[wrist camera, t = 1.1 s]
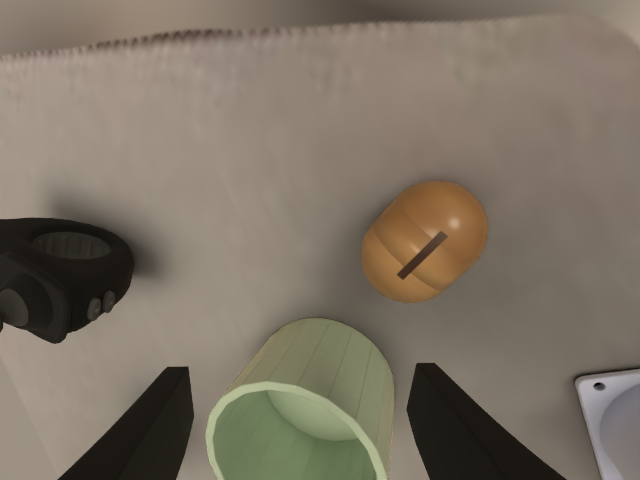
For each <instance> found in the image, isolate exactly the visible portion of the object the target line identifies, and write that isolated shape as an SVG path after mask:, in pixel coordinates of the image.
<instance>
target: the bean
mask: <svg viewBox="0 0 640 480" xmlns="http://www.w3.org/2000/svg"><path fill="white" fill-rule="evenodd" d="M487 238H488V222H487V217H486V214H485V211H484V209H483V207H482V205H481V204H480V202H479V201H478V199H477V198H476V197H475V196H474V195H473V194H472V193H471V192H469V191H468V190H466V189H465V188H463V187H461V186H459V185H457V184H454V183H451V182H446V181H427V182H421V183H419V184H416V185H413V186H411V187H409V188H408V189H406V190H405V191H403V192H402V193H401V194H400V195H399V196H397V197H396V198H395V199H394V201H393V202H392V203H391V204H390V205H389V206H388V207H387V208H386V209H385V210H384V212H383V213H382V214H381V215H380V216H379V217H378V218H377V219H376V220H375V222H374V223H373V224H372V225H371V226H370V228H369V229H368V231H367V232H366V234H365V237H364V239H363V243H362V247H361V263H362V268H363V271H364V273H365V275H366V277H367V279H368V281H369V282H370V284H371V285H372V286H373V287H374V288H375V289H376V290H377V291H378V292H379V293H381V294H382V295H384V296H386V297H388V298H390V299H392V300H394V301H399V302H403V303H418V302H423V301H427V300H429V299H432V298H434V297H436V296H437V295H439V294H440V293H441V292H443V291H444V290H445V289H446V288H447V287H449V286H450V285H451V284H452V283H453V282H454V281H455V280H456V279H458V278H459V277H460V276H461V275H462V274H463V273H464V272H465V271H467V270H468V269H469V268H470V267H471V266H472V265H473V264H474V263H475V262H476V261H477V260H478V258H479V257H480V255H481V253H482V252H483V250H484V248H485V245H486V242H487Z"/></svg>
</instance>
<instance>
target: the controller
mask: <svg viewBox="0 0 640 480" xmlns="http://www.w3.org/2000/svg"><path fill="white" fill-rule="evenodd" d="M133 269H134V259H133V255H132V252H131V250H130V248H129V247H128V245H127V244H126V243H125V242H124V241H123V240H122V239H121V238H119V237H118V236H116V235H115V234H113V233H111V232H109V231H107V230H105V229H102V228H100V227H96V226H93V225H90V224H85V223H81V222H76V221H71V220H64V219H54V218H20V219H0V332H1V331H2V329H3V322H4V323H6V324H9V325H12V326H14V327H16V328H19V329H23V330H27V331H29V332H31V333H33V334H34V335H36V336H38V337H40V338H41V339H43V340H46V341H48V342H51V343H54V344H56V343H60V342H62V341H63V340H64V339H65V338H66V335H67V333H70V332H72V331H77V330H79V329H81V328H83V327H85V326H86V325H87V324H89V323H90V322H92V321H94V320H96V319H97V318H98V317H99V316H100V315H101V314H103V313H104V312H106V313H109V312H110V311H111V310H112V308H113V306H114V305H115V304H116V303H117V302H118V301H119V300H121V299H122V297H123V296H124V295H125V294H126V292H127V290H128V288H129V286H130V283H131V279H132V274H133Z"/></svg>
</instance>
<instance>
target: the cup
mask: <svg viewBox="0 0 640 480" xmlns="http://www.w3.org/2000/svg"><path fill="white" fill-rule="evenodd" d="M394 399H395V386H394V379H393V376H392V372H391V370H390V367H389V365H388V363H387V361H386V359H385V358H384V356H383V355H382V353H381V352H380V351H379V349H378V348H377V347H376V346H375V345H374V344H373V343H372V342H371V341H370V340H369V339H368V338H367V337H365V336H364V335H363V334H362V333H360V332H359V331H357V330H355V329H354V328H352V327H350V326H348V325H346V324H343V323H340V322H337V321H334V320H329V319H323V318H306V319H300V320H297V321H293V322H291V323H289V324H286V325H284V326H283V327H282V328H280V329H279V330H277V331H276V332H275V333H274V334H273V335H272V336H271V337H270V338H269V339H268V340H267V342H266V343H265V344H264V345H263V347H262V348H261V349H260V350H259V351H258V353H257V354H256V355H255V356H254V358H253V359H252V360H251V361H250V363H249V364H248V365H247V366H246V367H245V369H244V370H243V371H242V372H241V374H240V375H239V376H238V377H237V378H236V380H235V381H234V382H233V383H232V385H231V386H230V387H229V388H228V389H227V391H226V392H225V393H224V394H223V396H222V397H221V398H220V400H219V401H218V402H217V404H216V405H215V407H214V408H213V410H212V411H211V413H210V415H209V418H208V423H207V429H206V434H205V441H206V447H207V453H208V459H209V462H210V464H211V466H212V468H213V471H214V473H215V475H216V477H217V479H218V480H389V471H390V458H391V445H392V432H393V420H394Z"/></svg>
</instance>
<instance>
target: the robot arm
mask: <svg viewBox="0 0 640 480" xmlns="http://www.w3.org/2000/svg"><path fill="white" fill-rule="evenodd" d="M598 382H601V384H600V385H598V386H594V384H595V383H598ZM575 386H576V390H577V393H578V397H579V400H580V404H581V407H582V411H583V415H584V418H585V422H586V425H587V429H588V432H589V436H590V439H591V443H592V447H593V450H594V454H595V457H596V461H597V464H598V468H599V471H600V475H601V479H602V480H640V369H635V370H627V371H619V372H611V373H603V374H595V375H587V376H581V377H579V378H578V379H576V381H575ZM407 413H408V417H409V421H410V424H411V428H412V432H413V435H414V439H415V442H416V445H417V448H418V450H419V453H420V455H421V458H422V460H423V463H424V465H425V468H426V471H427V473H428V476H429V478H430V480H567V479H565V478H564V477H563V476H561V475H560V474H559V473H558V472H556V471H555V470H554V469H552V468H551V467H550V466H548V465H547V464H546V463H545V462H543V461H542V460H541V459H540V458H538V457H537V456H536V455H535V454H533V453H532V452H531V451H530V450H529V449H527V448H526V447H525V446H524V445H523V444H522V443H520V442H519V441H518V440H517V439H516V438H515V437H513V436H512V435H511V434H510V433H509V432H508V431H506V430H505V429H504V428H503V427H502V426H501V425H500V424H499V423H497V422H496V421H495V420H494V419H493V418H492V417H491V416H490V415H489V414H488V413H486V412H485V411H484V410H483V409H482V408H481V407H480V406H479V405H478V404H477V403H476V402H475V401H474V400H473V399H472V398H471V397H469V396H468V395H467V394H466V393H465V392H464V391H463V390H462V389H461V388H460V387H459V386H458V385H457V384H456V383H455V382H454V381H453V380H452V379H451V378H450V377H449V376H448V375H447V374H446V373H445V372H444V371H443V370H442V369H441V368H439V367H438V366H437V365H436V364H435V363H417V364H416V368H415V373H414V377H413V382H412V386H411V391H410V396H409V400H408V405H407ZM193 418H194V411H193V402H192V394H191V385H190V377H189V369H188V367H167V368H166V369H165V370H164V371H163V372H162V373H161V374H160V375H159V376H158V377H157V378H156V379H155V381H154V382H153V383H152V384H151V385H150V386H149V387H148V388H147V390H146V391H145V392H144V393H143V394H142V395H141V396H140V397H139V398H138V399H137V401H136V402H135V403H134V404H133V405H132V406H131V407H130V408H129V409H128V410H127V411H126V412H125V413H124V414H123V415H122V417H121V418H120V419H119V420H118V421H117V422H116V423H115V424H114V425H113V426H112V427H111V428H110V429H109V430H108V431H107V432H106V433H105V434H104V435H103V436H102V437H101V438H100V439H99V440H98V441H97V442H96V443H95V444H94V445H93V446H92V447H91V448H90V449H89V450H88V451H87V452H86V453H85V454H84V455H83V456H82V457H81V458H80V459H79V460H78V461H77V462H76V463H75V464H74V465H73V466H72V467H70V468H69V469H68V470H67V471H66V472H65V473H64V474H63V475H62V476H61V477H60V478H59V479H58V480H176V478H177V475H178V472H179V469H180V466H181V464H182V461H183V458H184V455H185V452H186V448H187V444H188V440H189V436H190V431H191V427H192V423H193Z"/></svg>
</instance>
